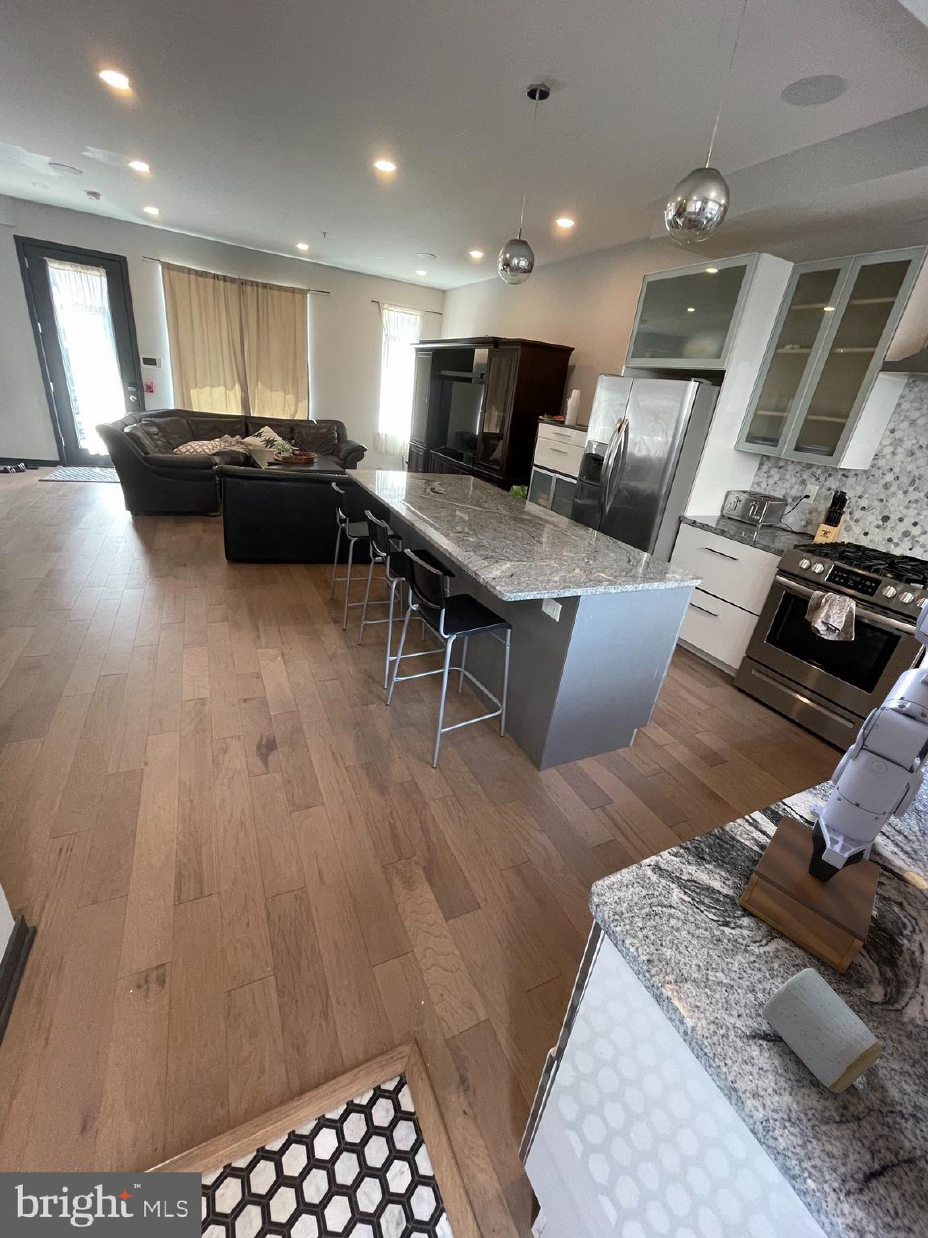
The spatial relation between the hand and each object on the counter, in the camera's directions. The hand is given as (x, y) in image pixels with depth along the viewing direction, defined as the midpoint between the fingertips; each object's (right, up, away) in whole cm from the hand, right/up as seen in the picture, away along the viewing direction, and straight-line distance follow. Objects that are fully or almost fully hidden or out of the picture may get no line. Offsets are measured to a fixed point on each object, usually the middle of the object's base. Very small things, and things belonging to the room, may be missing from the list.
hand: (817, 875), depth 69 cm
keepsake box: (0, -6, +3) cm, 7 cm away
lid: (+1, 0, +2) cm, 2 cm away
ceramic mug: (-10, -11, -14) cm, 20 cm away
